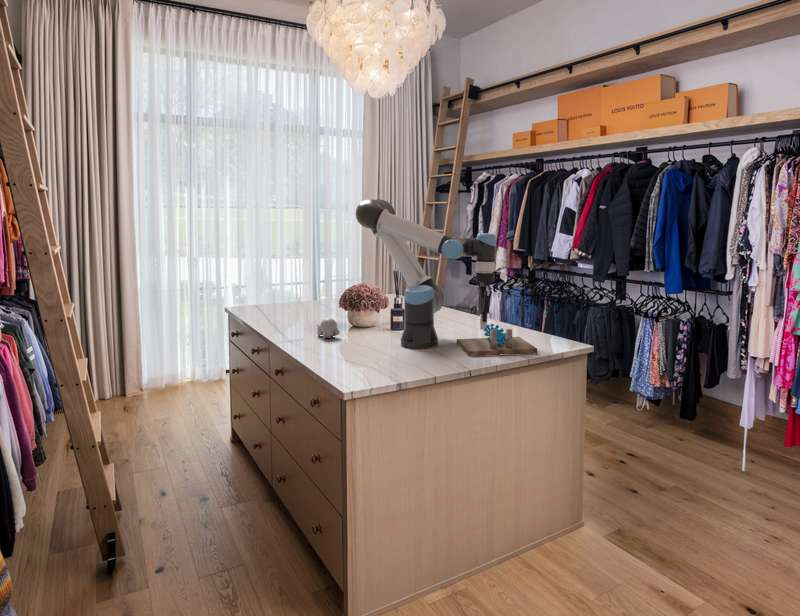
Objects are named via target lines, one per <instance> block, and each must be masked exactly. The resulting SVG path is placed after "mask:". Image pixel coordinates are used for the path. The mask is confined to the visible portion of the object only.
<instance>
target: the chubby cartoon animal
mask: <svg viewBox="0 0 800 616" xmlns="http://www.w3.org/2000/svg"><path fill="white" fill-rule="evenodd" d="M316 326H317V331H316V334H318V335H323V336H322V337H323V339H324V338H328V339H330V337H332V338H334V337H333V336H335V337H336V336H338V335H340V334H341V333H340V329H339V328H338V324H337V321H336V320H334V319H333V318H331V317H328V318H327V317H326V318H324V319H323V320H321V322H320V325H319V324H316ZM318 335H317V336H318Z"/></svg>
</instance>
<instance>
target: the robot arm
mask: <svg viewBox="0 0 800 616" xmlns="http://www.w3.org/2000/svg"><path fill="white" fill-rule="evenodd" d="M355 217H356V220H357V222H358V223H359V225H361V226H362V227H364V228H367V229H370V230H371V232H372V234H373V236H374V237H376V238H380V240H381V242H382V243H383V246H384V247H385V248H386V249H387V252H388V253H389V255H390V257H391V258H392V260H393V262H394V264H395V266H396V267H397V269H398V271H400V274H401V275H402V276H403V278H404V281H405V282H406V283H407V285H408V287H407V288H406V289H405V291H404V296H403V300H404V328H403V332H402V335H401V337H400V346H402V348H403V347H404V348H407V349H431V348H435V347H437V346H439V337H438V335H437V332H436V329H435V315H434V314H435V313H437V312H438V311H440V310H441V309H442V308H443V306H444V304H445V301H446V295H445V292H444V290H443V289H442V287H441V286H439V285H437V283H435V281H434V279H433V277H432V276H429V275H427V274H426V272H425V271H424V269H423V268H422V266H421V264H420V263H419V261H418V260H417V258H416V256H415V255H414V252H413V251H412V249H411V248H410V246H409V244H408V242H411V243H412V244H414V245H415V244H416V245H418V246H420V247H423V248H425V249H428V250H430V251H433V252H435V253H437V254H440V255H442V256H443V257H445V258H446V259H448V260H452V261H453V260H457V259H459V258H462V257H472V258H474V257H475V258H476V259H475V271H476V272H475V282H477V283H479V286H478V287H477V290H478V311H479V330H480V331H481V330H482V331H484V329H485V328H486V325H488V315H489V313H490V307H491V299H492V298H491V297H492V287H491V286H490V284H491V283H494V282H495V276H496V275H495V269H496V266H497V264H496V248H497V245H496V241H497V239H496V238H497V237H496V235H495V234H494V233H487V232H486V233H485V232H484V233H482V232H481V233H478V234H477V235H476V237H473V238H472V237H453V236H450V235H447V234H444V233H442V232H438V231H437V230H433V229H431V228H428V227H426V226H423V225H421V224H418V223H415V222H413V221H411V220H409V219H405V218H403V217H401V216H398V215H396V211H395V208H394V206H393V205H392V204H391V203H390V202H388V201H386V200H384V199H381V198H380V199H370V198H369V199H364V200H362V201H361V202H360V203H359V204H358V205H357V206H356V210H355ZM407 241H408V242H407Z"/></svg>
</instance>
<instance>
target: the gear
mask: <svg viewBox="0 0 800 616" xmlns="http://www.w3.org/2000/svg"><path fill="white" fill-rule="evenodd" d="M494 326H495V327H494ZM499 328H500V325H498V324H493V323H490V324H487V325H486V328H485V329H484V330H483V331H484V336H485V337H486V338H487V339H488V342H489V343H490V330H497V341H498V344H497V345H498V346H501V341H502V345H504V344H505V343H506V332H504V330H505V329H504V328H502V327H501V329H499ZM503 339H504V340H503Z"/></svg>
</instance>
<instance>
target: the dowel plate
mask: <svg viewBox="0 0 800 616" xmlns="http://www.w3.org/2000/svg"><path fill="white" fill-rule="evenodd" d="M505 333H506V343H505V344H504V345H502V341H501V346H498V345H497V344H498V341H497V330H490V343H489V342H488V339H487V338H488V337H480V338H479V337H478V338H456V345H457V344H458V345H459V346H460V347H461V348H462V349H463V350H464V351H463V350H462V349H461V348H460V347H459V346H458V345H457V346H458V347H459V348H460V349H461V350H462V351H463V352H464V353H465V352H466V353H465V354H466V355H467V357H469V356H475V357H487V356H486V355H499V356H501V355H500V354H523V355H530V354H529V353H537V354H538V348H537V347H535V346H534V345H532V344H531V343H529V342H528V341H526V340H525V339H523V338H521V337H520V336H513V328H512V329H511V328H506V329H505ZM503 340H504V339H503Z"/></svg>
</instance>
